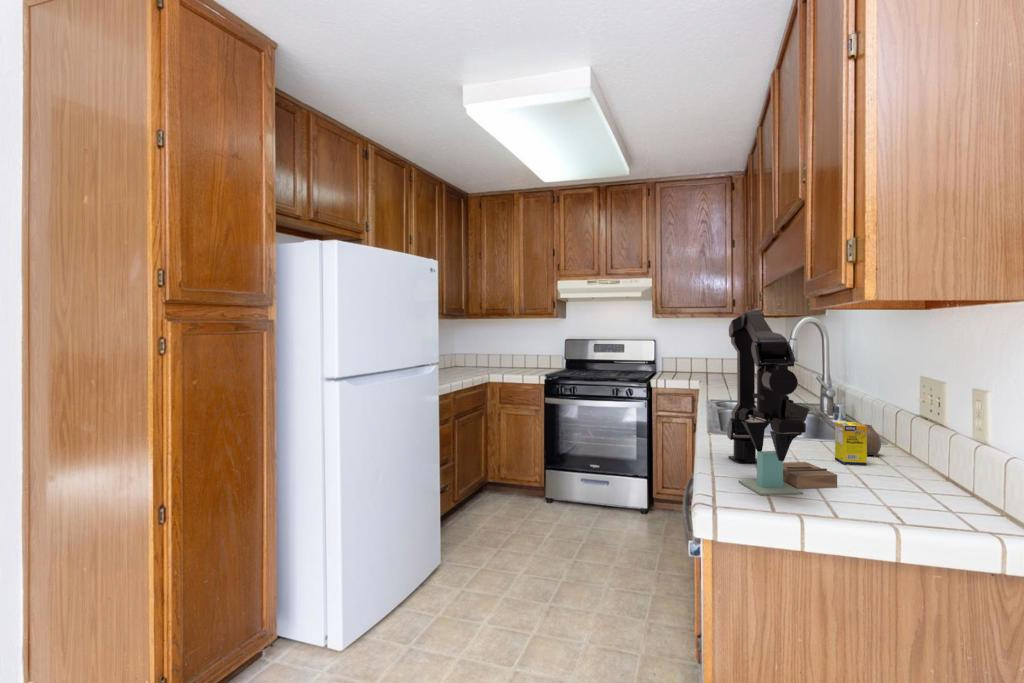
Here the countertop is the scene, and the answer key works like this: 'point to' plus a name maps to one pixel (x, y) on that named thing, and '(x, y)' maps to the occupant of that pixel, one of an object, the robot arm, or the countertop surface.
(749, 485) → the mat
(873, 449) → the vase
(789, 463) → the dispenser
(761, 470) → the tall teal box
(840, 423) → the supplement box
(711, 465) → the countertop surface
